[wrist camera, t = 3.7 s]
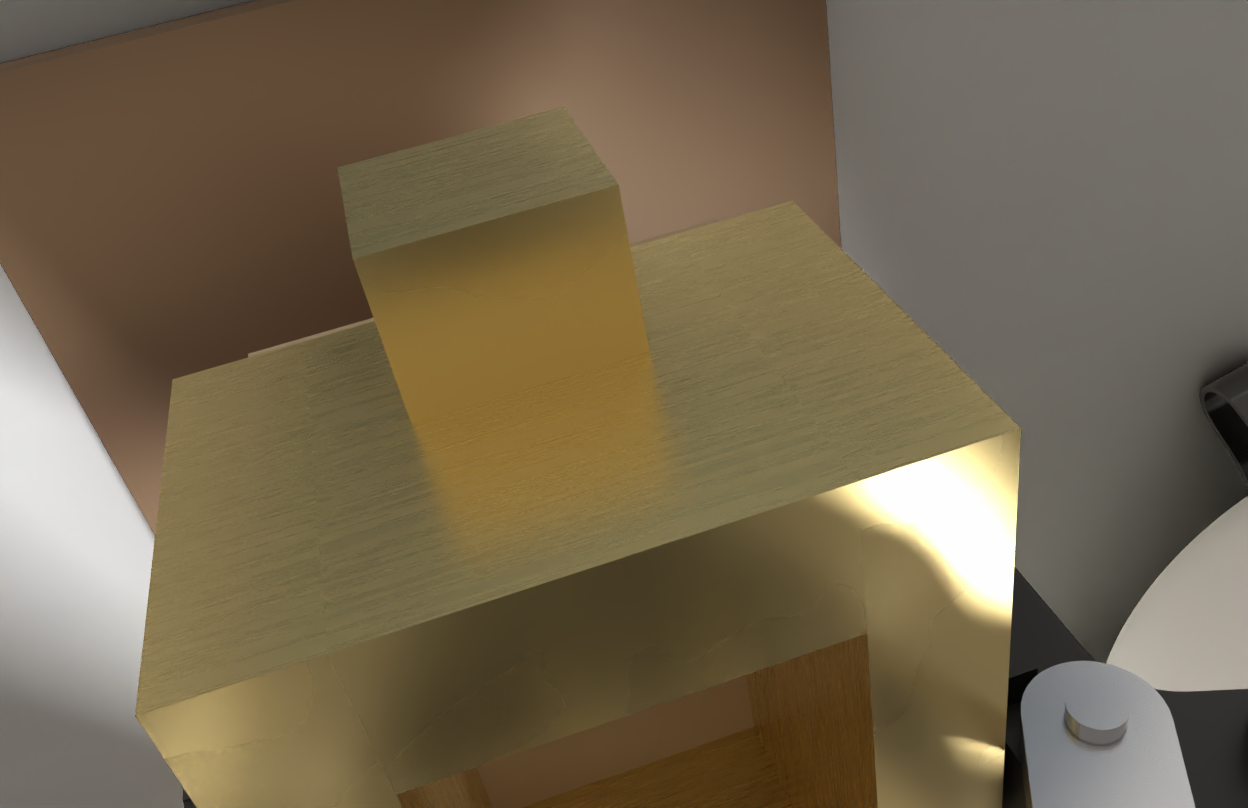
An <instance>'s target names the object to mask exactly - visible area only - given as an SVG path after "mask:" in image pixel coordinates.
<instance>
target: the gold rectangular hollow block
mask: <svg viewBox="0 0 1248 808" xmlns="http://www.w3.org/2000/svg"><path fill="white" fill-rule="evenodd" d="M338 174H339V180H340V186H341V192H342V198H343V204H344V210H345V216H346V222H347V228H348V234H349V240H350V246H351V252H352V258H353V261H354V264H355V267H356V270H357V272H358V275H359V278H360V281H361V284H362V286H363V289H364V292H365V295H366V298H367V301H368V303H369V306H370V309H371V312H372V315H373V317H374V320H375V321H373V322H369V323H366V324H362V325H359V326H356V327H352V328H349V329H345V330H342V331H338V332H335V333H331V334H328V335H324V336H321V337H317V338H314V339H310V340H307V341H304V342H300V343H297V344H293V345H290V346H286V347H283V348H279V349H276V350H272V351H269V352H265V353H262V354H258V355H255V356H252V357H248V358H245V359H241V360H238V361H234V362H231V363H227V364H224V365H220V366H217V367H213V368H210V369H206V370H203V371H200V372H196V373H193V374H189V375H186V376H182V377H179V378H175V379H173V380H172V389H171V398H170V407H169V416H168V425H167V434H166V443H165V452H164V461H163V470H162V479H161V488H160V497H159V506H158V515H157V524H156V533H155V542H154V551H153V560H152V569H151V578H150V587H149V596H148V605H147V614H146V622H145V631H144V640H143V649H142V658H141V667H140V676H139V685H138V694H137V703H136V712H135V716H136V718H137V719H138V721H139V722H140V724H141V725H142V727H143V728H144V730H145V731H146V733H147V734H148V736H149V737H150V739H151V740H152V742H153V743H154V745H155V746H156V748H157V749H158V751H159V752H160V754H161V755H162V757H163V758H164V760H165V761H166V763H167V764H168V766H169V767H170V769H171V770H172V771H173V773H174V774H175V776H176V777H177V779H178V780H179V782H180V783H181V785H182V786H183V788H184V789H185V791H186V792H187V794H188V795H189V797H190V798H191V800H192V801H193V803H194V804H195V806H196V807H197V808H493V807H492V804H491V802H490V799H489V797H488V794H487V792H486V790H485V787H484V785H483V782H482V780H481V777H480V775H479V772H478V770H477V767H479V766H482V765H485V764H487V763H490V762H493V761H496V760H499V759H502V758H505V757H508V756H511V755H514V754H517V753H520V752H522V751H525V750H528V749H531V748H534V747H537V746H540V745H543V744H546V743H549V742H552V741H555V740H558V739H560V738H563V737H566V736H569V735H572V734H575V733H578V732H581V731H584V730H587V729H590V728H593V727H595V726H598V725H601V724H604V723H607V722H610V721H613V720H616V719H619V718H622V717H625V716H628V715H630V714H633V713H636V712H639V711H642V710H645V709H648V708H651V707H654V706H657V705H660V704H663V703H665V702H668V701H671V700H674V699H677V698H680V697H683V696H686V695H689V694H692V693H695V692H698V691H701V690H703V689H706V688H709V687H712V686H715V685H718V684H721V683H724V682H727V681H730V680H733V679H736V678H738V677H741V676H744V675H746V679H747V686H748V692H749V698H750V705H751V711H752V717H753V723H754V727H751V728H748V729H745V730H742V731H740V732H737V733H734V734H731V735H728V736H725V737H722V738H720V739H717V740H714V741H711V742H708V743H705V744H702V745H699V746H697V747H694V748H691V749H688V750H685V751H682V752H679V753H677V754H674V755H671V756H668V757H665V758H662V759H659V760H656V761H654V762H651V763H648V764H645V765H642V766H639V767H636V768H634V769H631V770H628V771H625V772H622V773H619V774H616V775H613V776H611V777H608V778H605V779H602V780H599V781H596V782H593V783H591V784H588V785H585V786H582V787H579V788H576V789H573V790H571V791H568V792H565V793H562V794H559V795H556V796H553V797H550V798H548V799H545V800H542V801H539V802H536V803H533V804H530V805H528V806H525V807H522V808H1002V796H1003V777H1004V757H1005V738H1006V718H1007V698H1008V679H1009V659H1010V640H1011V620H1012V600H1013V581H1014V561H1015V542H1016V522H1017V503H1018V483H1019V463H1020V444H1021V428H1020V427H1019V426H1018V425H1017V424H1016V423H1015V422H1014V421H1013V420H1012V419H1011V418H1010V417H1009V416H1008V415H1007V414H1006V413H1005V412H1004V411H1003V410H1002V409H1001V408H1000V407H999V406H998V405H997V404H996V403H995V402H994V401H993V400H992V399H991V398H990V397H989V396H988V395H987V394H986V393H985V392H984V391H983V390H982V389H981V388H980V387H979V386H978V385H977V384H976V383H975V382H974V381H973V380H972V379H971V378H970V377H969V376H968V375H967V374H966V373H965V372H964V371H963V370H962V369H961V368H960V367H959V366H958V365H957V364H956V363H955V362H954V361H953V360H952V359H951V358H950V357H949V356H948V355H947V354H946V353H945V352H944V351H943V350H942V349H941V348H940V347H939V346H938V345H937V344H936V343H935V342H934V341H933V340H932V339H931V338H930V337H929V336H928V335H927V334H926V333H925V332H924V331H923V330H922V329H921V328H920V327H919V326H918V325H917V324H916V323H915V322H914V321H913V320H912V319H911V318H910V317H909V316H908V315H907V314H906V313H905V312H904V311H903V310H902V309H901V308H900V307H899V306H898V305H897V304H896V303H895V302H894V301H893V300H892V299H891V298H890V297H889V296H888V295H887V294H886V293H885V292H884V291H883V290H882V289H881V288H880V287H879V286H878V285H877V284H876V283H875V282H874V281H873V280H872V279H871V278H870V277H869V276H868V275H867V274H866V273H865V272H864V271H863V270H862V269H861V268H860V267H859V266H858V265H857V264H856V263H855V262H854V261H853V260H852V259H851V258H850V257H849V256H848V255H847V254H846V253H845V252H844V251H843V250H842V249H841V248H840V247H839V246H838V245H837V244H836V243H835V242H834V241H833V240H832V239H831V238H830V237H829V236H828V235H827V234H826V233H825V232H824V231H823V230H822V229H821V228H820V227H819V226H818V225H817V224H816V223H815V222H814V221H813V220H812V219H811V218H810V217H809V216H808V215H807V214H806V213H805V212H804V211H803V210H802V209H801V208H800V207H799V206H798V205H797V204H796V203H795V202H794V201H793V200H792V201H789V202H785V203H782V204H778V205H775V206H772V207H768V208H765V209H761V210H758V211H754V212H751V213H747V214H744V215H740V216H737V217H733V218H730V219H726V220H723V221H720V222H716V223H713V224H709V225H706V226H702V227H699V228H695V229H692V230H688V231H685V232H681V233H678V234H674V235H671V236H668V237H664V238H661V239H657V240H654V241H650V242H647V243H643V244H640V245H636V246H633V247H630V243H629V238H628V232H627V227H626V222H625V216H624V211H623V206H622V200H621V195H620V190H619V185H618V183H617V182H616V180H615V179H614V177H613V176H612V174H611V173H610V172H609V170H608V169H607V167H606V166H605V165H604V163H603V162H602V160H601V159H600V157H599V156H598V155H597V153H596V152H595V150H594V149H593V147H592V146H591V145H590V143H589V142H588V140H587V139H586V137H585V136H584V135H583V133H582V132H581V130H580V129H579V127H578V126H577V125H576V123H575V122H574V120H573V119H572V117H571V116H570V115H569V113H568V112H567V110H566V109H565V107H564V106H563V107H560V108H556V109H552V110H549V111H545V112H541V113H538V114H534V115H530V116H526V117H523V118H519V119H515V120H512V121H508V122H504V123H501V124H497V125H493V126H489V127H486V128H482V129H478V130H475V131H471V132H467V133H463V134H460V135H456V136H452V137H449V138H445V139H441V140H438V141H434V142H430V143H426V144H423V145H419V146H415V147H412V148H408V149H404V150H401V151H397V152H393V153H389V154H386V155H382V156H378V157H375V158H371V159H367V160H364V161H360V162H356V163H352V164H349V165H345V166H341V167H338Z"/></svg>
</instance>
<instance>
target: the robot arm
mask: <svg viewBox="0 0 1248 808" xmlns="http://www.w3.org/2000/svg"><path fill="white" fill-rule="evenodd" d="M183 802H184V808H197V807H196V806H195V804H194V803H193V801H192V800H191V798H190V797H189V795H188V794H187V792H186V791H185V789H184V788H183ZM1002 808H1248V689H1232V690H1211V691H1189V692H1184V691H1166V690H1158V689H1154V688H1153V687H1152V686H1151V685H1149V684H1148V683H1147V682H1146V681H1144V680H1143V679H1141V678H1140V677H1138V676H1137V675H1135V674H1133V673H1131V672H1129V671H1127V670H1125V669H1122V668H1120V667H1117V666H1114V665H1111V664H1106V663H1101V662H1097V661H1095V660H1094V659H1093V658H1092V657H1091V656H1090V655H1089V654H1088V653H1087V652H1086V651H1085V649H1084V648H1083V647H1082V646H1081V645H1080V643H1079V642H1078V641H1077V640H1076V639H1075V637H1074V636H1073V635H1072V634H1071V633H1070V632H1069V630H1068V629H1067V628H1066V627H1065V626H1064V624H1063V623H1062V622H1061V621H1060V620H1059V619H1058V617H1057V616H1056V615H1055V614H1054V613H1053V611H1052V610H1051V609H1050V608H1049V607H1048V605H1047V604H1046V603H1045V602H1044V601H1043V600H1042V598H1041V597H1040V596H1039V595H1038V594H1037V592H1036V591H1035V590H1034V589H1033V588H1032V586H1031V585H1030V584H1029V583H1028V582H1027V581H1026V579H1025V578H1024V577H1023V576H1022V575H1021V573H1020V572H1019V571H1018V570H1017V569H1016V568H1015V566H1014V581H1013V600H1012V620H1011V640H1010V659H1009V679H1008V698H1007V718H1006V738H1005V757H1004V777H1003V796H1002Z"/></svg>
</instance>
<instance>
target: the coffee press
mask: <svg viewBox="0 0 1248 808" xmlns="http://www.w3.org/2000/svg"><path fill="white" fill-rule="evenodd" d="M1200 401H1201V405H1202V408H1203V410H1204V412H1205V414H1206V416H1207V418H1208V420H1209V422H1210V423H1211V425H1212V426H1213V428H1214V430H1215V431H1216V433H1217V434H1218V436H1219V437H1220V439H1221V440H1222V442H1223V443H1224V445H1225V446H1226V448H1227V450H1228V451H1229V453H1230V454H1231V456H1232V458H1233V459H1234V461H1235V463H1236V464H1237V466H1238V468H1239V470H1240V471H1241V473H1242V476H1243V478H1244V480H1245V483H1246V487H1247V491H1248V363H1247V364H1245V365H1243V366H1241V367H1239V368H1238V369H1236V370H1234V371H1232V372H1230V373H1229V374H1227V375H1225V376H1223V377H1221V378H1219V379H1218V380H1216V381H1214V382H1212V383H1210V384H1209V385H1207V386H1205V387H1203V388H1202V389H1201V391H1200ZM1106 664H1111V665H1114V666H1117V667H1120V668H1122V669H1125V670H1127V671H1129V672H1131V673H1133V674H1135V675H1137V676H1138V677H1140V678H1141V679H1143V680H1144V681H1146V682H1147V683H1148V684H1149V685H1151V686H1152V687H1153V688H1154V689H1158V690H1166V691H1184V692H1189V691H1211V690H1232V689H1248V496H1247V497H1245V498H1244V499H1242V500H1241V501H1240V502H1238V503H1237V504H1235V505H1234V506H1233V507H1231V508H1230V509H1229V510H1228V511H1226V512H1225V513H1224V514H1222V515H1221V516H1220V517H1219V518H1217V519H1216V520H1215V521H1214V522H1213V523H1211V524H1210V525H1209V526H1208V527H1207V528H1206V529H1204V530H1203V531H1202V532H1201V533H1200V534H1199V535H1198V536H1197V537H1196V538H1195V539H1193V540H1192V541H1191V542H1190V543H1189V544H1188V545H1187V546H1186V547H1185V548H1184V549H1183V550H1182V551H1181V552H1180V553H1179V554H1178V555H1177V556H1176V557H1175V558H1174V559H1173V561H1172V562H1171V563H1170V564H1169V565H1168V566H1167V567H1166V568H1165V569H1164V570H1163V572H1162V573H1161V574H1160V575H1159V576H1158V578H1157V579H1156V580H1155V581H1154V582H1153V584H1152V585H1151V586H1150V587H1149V589H1148V590H1147V591H1146V593H1145V594H1144V595H1143V597H1142V598H1141V600H1140V601H1139V602H1138V604H1137V605H1136V607H1135V608H1134V610H1133V611H1132V613H1131V614H1130V616H1129V618H1128V619H1127V621H1126V623H1125V624H1124V626H1123V628H1122V630H1121V631H1120V633H1119V635H1118V637H1117V639H1116V641H1115V643H1114V645H1113V648H1112V650H1111V652H1110V654H1109V657H1108V659H1107V662H1106Z"/></svg>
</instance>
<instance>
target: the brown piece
mask: <svg viewBox="0 0 1248 808" xmlns="http://www.w3.org/2000/svg"><path fill="white" fill-rule="evenodd" d="M563 106H564V107H565V109H566V110H567V112H568V113H569V115H570V116H571V117H572V119H573V120H574V122H575V123H576V125H577V126H578V127H579V129H580V130H581V132H582V133H583V135H584V136H585V137H586V139H587V140H588V142H589V143H590V145H591V146H592V147H593V149H594V150H595V152H596V153H597V155H598V156H599V157H600V159H601V160H602V162H603V163H604V165H605V166H606V167H607V169H608V170H609V172H610V173H611V174H612V176H613V177H614V179H615V180H616V182H617V183H618V185H619V190H620V195H621V200H622V206H623V211H624V216H625V222H626V227H627V232H628V238H629V243H630V247H633V246H636V245H640V244H643V243H647V242H650V241H654V240H657V239H661V238H664V237H668V236H671V235H674V234H678V233H681V232H685V231H688V230H692V229H695V228H699V227H702V226H706V225H709V224H713V223H716V222H720V221H723V220H726V219H730V218H733V217H737V216H740V215H744V214H747V213H751V212H754V211H758V210H761V209H765V208H768V207H772V206H775V205H778V204H782V203H785V202H789V201H792V200H793V201H794V202H795V203H796V204H797V205H798V206H799V207H800V208H801V209H802V210H803V211H804V212H805V213H806V214H807V215H808V216H809V217H810V218H811V219H812V220H813V221H814V222H815V223H816V224H817V225H818V226H819V227H820V228H821V229H822V230H823V231H824V232H825V233H826V234H827V235H828V236H829V237H830V238H831V239H832V240H833V241H834V242H835V243H836V244H837V245H838V246H839V247H840V248H841V236H840V219H839V203H838V187H837V171H836V155H835V139H834V123H833V107H832V90H831V74H830V58H829V42H828V26H827V10H826V0H255V1H251V2H247V3H243V4H239V5H235V6H231V7H227V8H223V9H219V10H215V11H211V12H207V13H203V14H199V15H195V16H191V17H186V18H182V19H178V20H174V21H170V22H166V23H162V24H158V25H154V26H150V27H146V28H142V29H138V30H134V31H130V32H126V33H122V34H118V35H114V36H110V37H106V38H102V39H98V40H94V41H90V42H86V43H82V44H78V45H74V46H70V47H66V48H62V49H58V50H54V51H50V52H46V53H42V54H38V55H34V56H30V57H26V58H22V59H18V60H14V61H10V62H6V63H2V64H0V264H1V265H2V267H3V269H4V271H5V272H6V274H7V276H8V278H9V279H10V281H11V283H12V285H13V287H14V288H15V290H16V292H17V294H18V295H19V297H20V299H21V301H22V302H23V304H24V306H25V308H26V309H27V311H28V313H29V315H30V316H31V318H32V320H33V322H34V323H35V325H36V327H37V329H38V330H39V332H40V334H41V336H42V337H43V339H44V341H45V343H46V344H47V346H48V348H49V350H50V351H51V353H52V355H53V357H54V359H55V360H56V362H57V364H58V366H59V367H60V369H61V371H62V373H63V374H64V376H65V378H66V380H67V381H68V383H69V385H70V387H71V388H72V390H73V392H74V394H75V395H76V397H77V399H78V401H79V402H80V404H81V406H82V408H83V409H84V411H85V413H86V415H87V416H88V418H89V420H90V422H91V423H92V425H93V427H94V429H95V431H96V432H97V434H98V436H99V438H100V439H101V441H102V443H103V445H104V446H105V448H106V450H107V452H108V453H109V455H110V457H111V459H112V460H113V462H114V464H115V466H116V467H117V469H118V471H119V473H120V474H121V476H122V478H123V480H124V481H125V483H126V485H127V487H128V488H129V490H130V492H131V494H132V495H133V497H134V499H135V501H136V503H137V504H138V506H139V508H140V510H141V511H142V513H143V515H144V517H145V518H146V520H147V522H148V524H149V525H150V527H151V529H152V531H153V532H154V534H155V533H156V524H157V515H158V506H159V497H160V488H161V479H162V470H163V461H164V452H165V443H166V434H167V425H168V416H169V407H170V398H171V389H172V380H173V379H175V378H179V377H182V376H186V375H189V374H193V373H196V372H200V371H203V370H206V369H210V368H213V367H217V366H220V365H224V364H227V363H231V362H234V361H238V360H241V359H245V358H248V357H252V356H255V355H258V354H262V353H265V352H269V351H272V350H276V349H279V348H283V347H286V346H290V345H293V344H297V343H300V342H304V341H307V340H310V339H314V338H317V337H321V336H324V335H328V334H331V333H335V332H338V331H342V330H345V329H349V328H352V327H356V326H359V325H362V324H366V323H369V322H373V321H375V320H374V317H373V315H372V312H371V309H370V306H369V303H368V301H367V298H366V295H365V292H364V289H363V286H362V284H361V281H360V278H359V275H358V272H357V270H356V267H355V264H354V261H353V258H352V252H351V246H350V240H349V234H348V228H347V222H346V216H345V210H344V204H343V198H342V192H341V186H340V180H339V174H338V167H341V166H345V165H349V164H352V163H356V162H360V161H364V160H367V159H371V158H375V157H378V156H382V155H386V154H389V153H393V152H397V151H401V150H404V149H408V148H412V147H415V146H419V145H423V144H426V143H430V142H434V141H438V140H441V139H445V138H449V137H452V136H456V135H460V134H463V133H467V132H471V131H475V130H478V129H482V128H486V127H489V126H493V125H497V124H501V123H504V122H508V121H512V120H515V119H519V118H523V117H526V116H530V115H534V114H538V113H541V112H545V111H549V110H552V109H556V108H560V107H563ZM751 727H754V723H753V717H752V711H751V705H750V698H749V692H748V686H747V679H746V675H744V676H741V677H738V678H736V679H733V680H730V681H727V682H724V683H721V684H718V685H715V686H712V687H709V688H706V689H703V690H701V691H698V692H695V693H692V694H689V695H686V696H683V697H680V698H677V699H674V700H671V701H668V702H665V703H663V704H660V705H657V706H654V707H651V708H648V709H645V710H642V711H639V712H636V713H633V714H630V715H628V716H625V717H622V718H619V719H616V720H613V721H610V722H607V723H604V724H601V725H598V726H595V727H593V728H590V729H587V730H584V731H581V732H578V733H575V734H572V735H569V736H566V737H563V738H560V739H558V740H555V741H552V742H549V743H546V744H543V745H540V746H537V747H534V748H531V749H528V750H525V751H522V752H520V753H517V754H514V755H511V756H508V757H505V758H502V759H499V760H496V761H493V762H490V763H487V764H485V765H482V766H479V767H477V770H478V772H479V775H480V777H481V780H482V782H483V785H484V787H485V790H486V792H487V794H488V797H489V799H490V802H491V804H492V807H493V808H522V807H525V806H528V805H530V804H533V803H536V802H539V801H542V800H545V799H548V798H550V797H553V796H556V795H559V794H562V793H565V792H568V791H571V790H573V789H576V788H579V787H582V786H585V785H588V784H591V783H593V782H596V781H599V780H602V779H605V778H608V777H611V776H613V775H616V774H619V773H622V772H625V771H628V770H631V769H634V768H636V767H639V766H642V765H645V764H648V763H651V762H654V761H656V760H659V759H662V758H665V757H668V756H671V755H674V754H677V753H679V752H682V751H685V750H688V749H691V748H694V747H697V746H699V745H702V744H705V743H708V742H711V741H714V740H717V739H720V738H722V737H725V736H728V735H731V734H734V733H737V732H740V731H742V730H745V729H748V728H751Z"/></svg>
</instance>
